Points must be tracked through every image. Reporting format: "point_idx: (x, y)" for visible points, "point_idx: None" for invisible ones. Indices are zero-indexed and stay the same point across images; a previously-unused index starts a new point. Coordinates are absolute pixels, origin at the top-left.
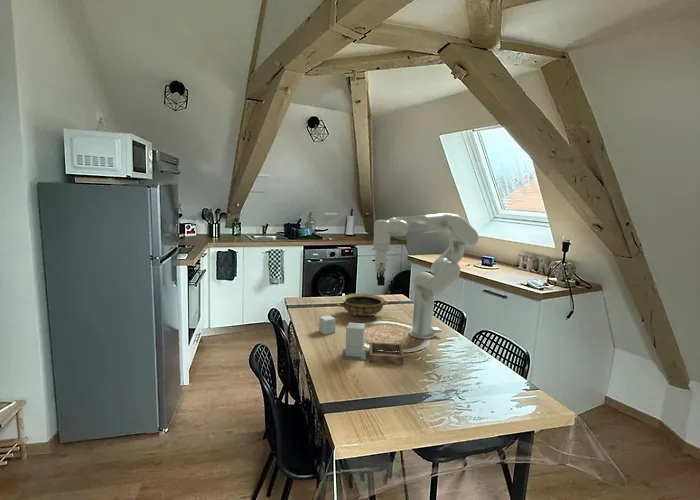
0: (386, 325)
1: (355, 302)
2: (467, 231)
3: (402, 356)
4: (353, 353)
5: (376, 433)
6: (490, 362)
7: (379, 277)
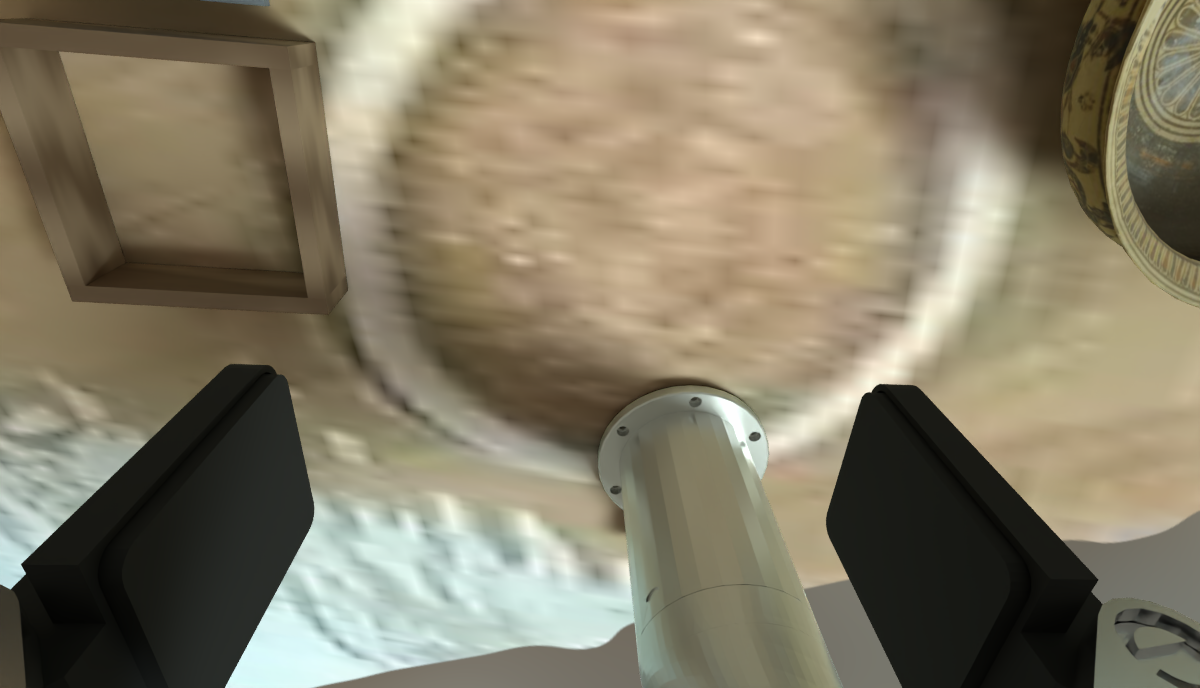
0: (886, 246)
1: None
2: None
3: (77, 293)
4: None
5: None
6: (334, 662)
7: (70, 603)
